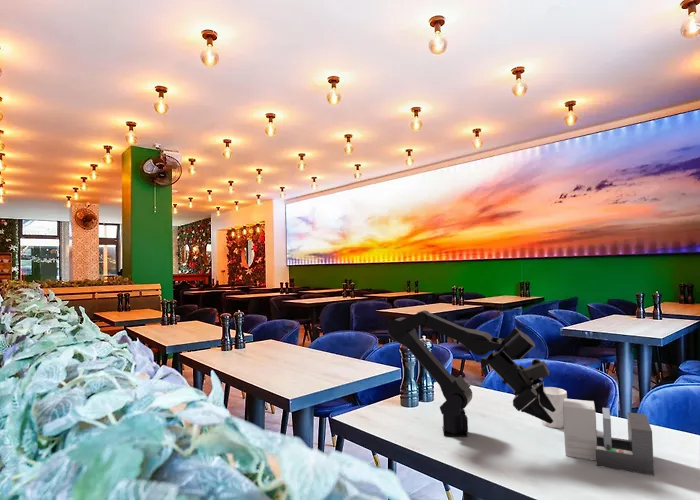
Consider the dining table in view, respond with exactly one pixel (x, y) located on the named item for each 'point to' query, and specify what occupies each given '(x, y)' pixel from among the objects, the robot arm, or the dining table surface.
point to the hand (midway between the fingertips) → (553, 416)
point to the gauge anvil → (629, 448)
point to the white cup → (555, 406)
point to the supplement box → (580, 428)
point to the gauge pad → (607, 428)
